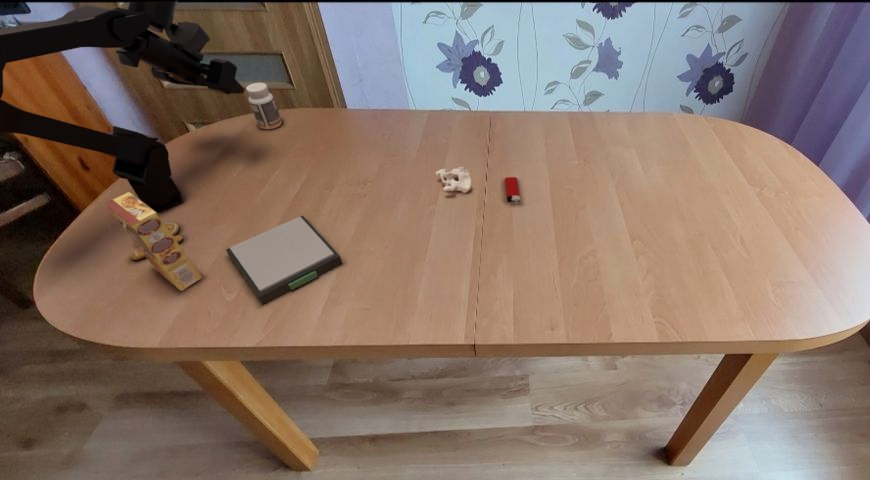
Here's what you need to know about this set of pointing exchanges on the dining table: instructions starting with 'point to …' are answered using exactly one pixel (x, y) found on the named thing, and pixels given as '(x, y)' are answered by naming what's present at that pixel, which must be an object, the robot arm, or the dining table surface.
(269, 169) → the dining table surface
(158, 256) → the candy box
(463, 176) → the hip bone replica
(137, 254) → the cookie
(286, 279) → the kitchen scale
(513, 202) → the lighter
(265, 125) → the pill bottle
